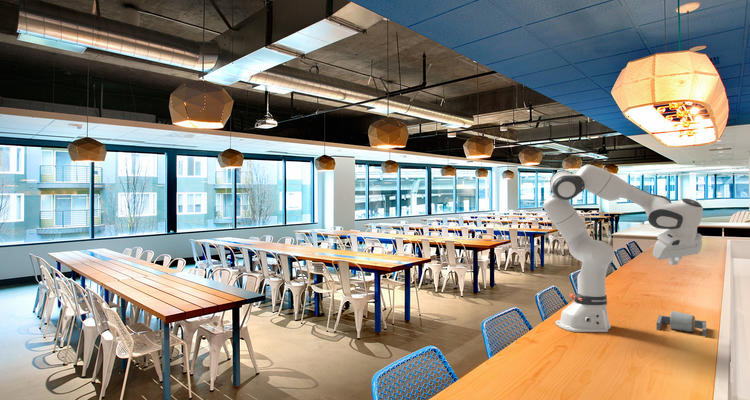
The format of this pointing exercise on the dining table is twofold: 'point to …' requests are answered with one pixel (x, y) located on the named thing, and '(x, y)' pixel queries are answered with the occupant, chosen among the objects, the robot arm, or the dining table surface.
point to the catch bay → (667, 320)
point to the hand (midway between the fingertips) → (672, 264)
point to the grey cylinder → (682, 321)
